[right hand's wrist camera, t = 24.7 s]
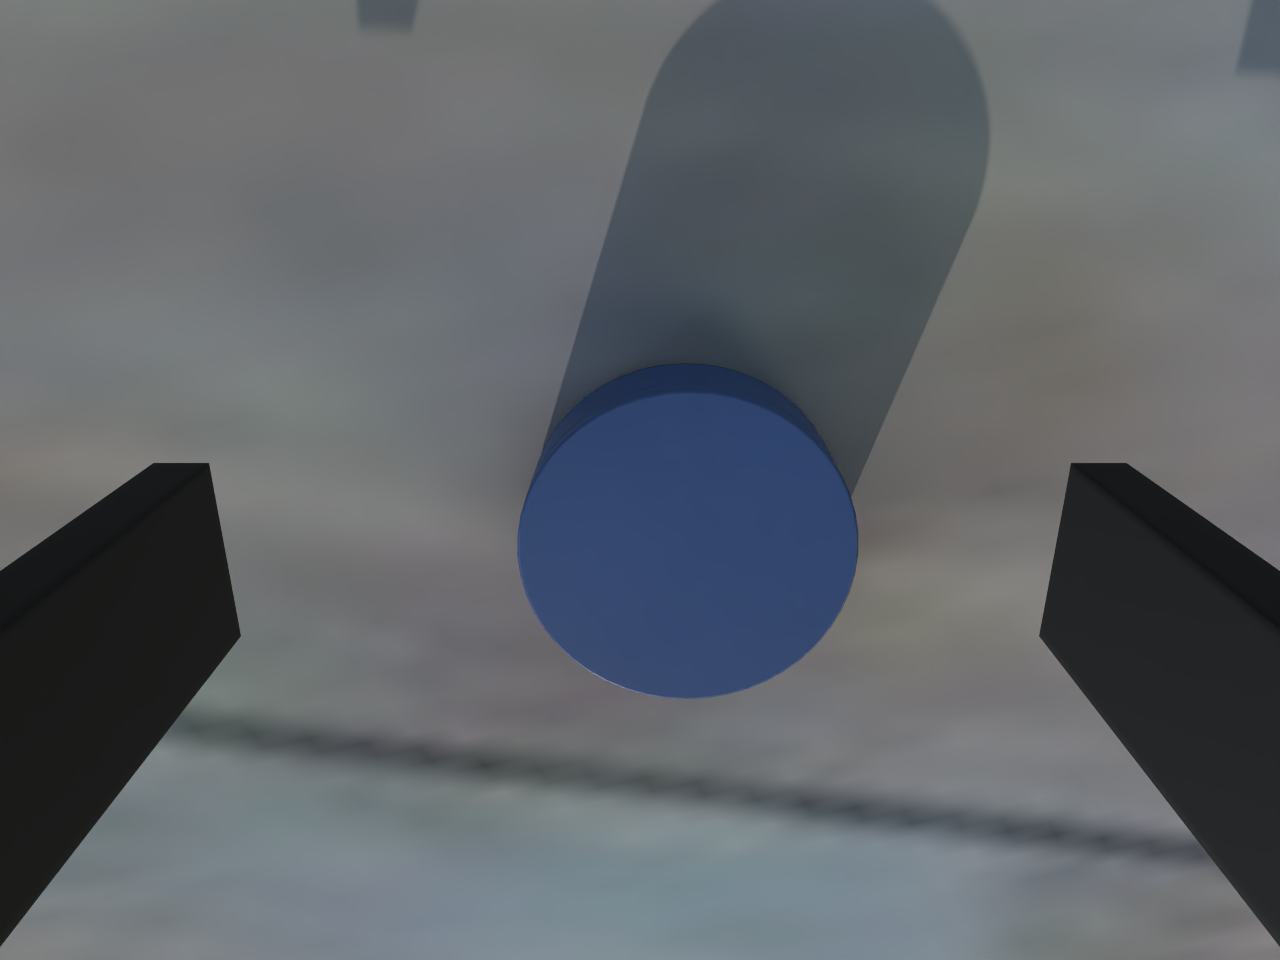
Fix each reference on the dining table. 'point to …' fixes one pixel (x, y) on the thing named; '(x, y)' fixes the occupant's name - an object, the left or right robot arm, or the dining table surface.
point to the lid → (687, 533)
